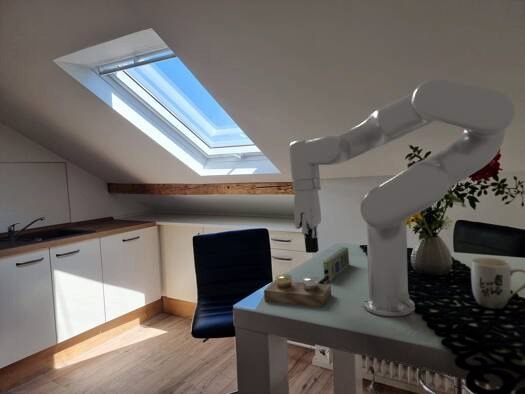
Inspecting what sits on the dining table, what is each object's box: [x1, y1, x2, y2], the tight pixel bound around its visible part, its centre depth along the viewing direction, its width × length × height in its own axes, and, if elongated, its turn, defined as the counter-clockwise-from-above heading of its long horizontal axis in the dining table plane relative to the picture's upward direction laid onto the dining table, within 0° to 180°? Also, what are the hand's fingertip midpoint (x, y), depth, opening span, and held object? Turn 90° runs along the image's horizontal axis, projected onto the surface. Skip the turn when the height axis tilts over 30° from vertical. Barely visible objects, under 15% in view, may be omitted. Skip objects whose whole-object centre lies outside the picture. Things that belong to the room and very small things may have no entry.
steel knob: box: [302, 275, 320, 291], centre depth 103 cm, size 4×4×6 cm
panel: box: [263, 280, 332, 308], centre depth 105 cm, size 17×9×3 cm, turn 66°
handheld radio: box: [319, 247, 350, 284], centre depth 123 cm, size 7×3×25 cm
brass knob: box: [275, 273, 293, 288], centre depth 106 cm, size 4×4×6 cm
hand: (312, 251), depth 102 cm, fingers closed
